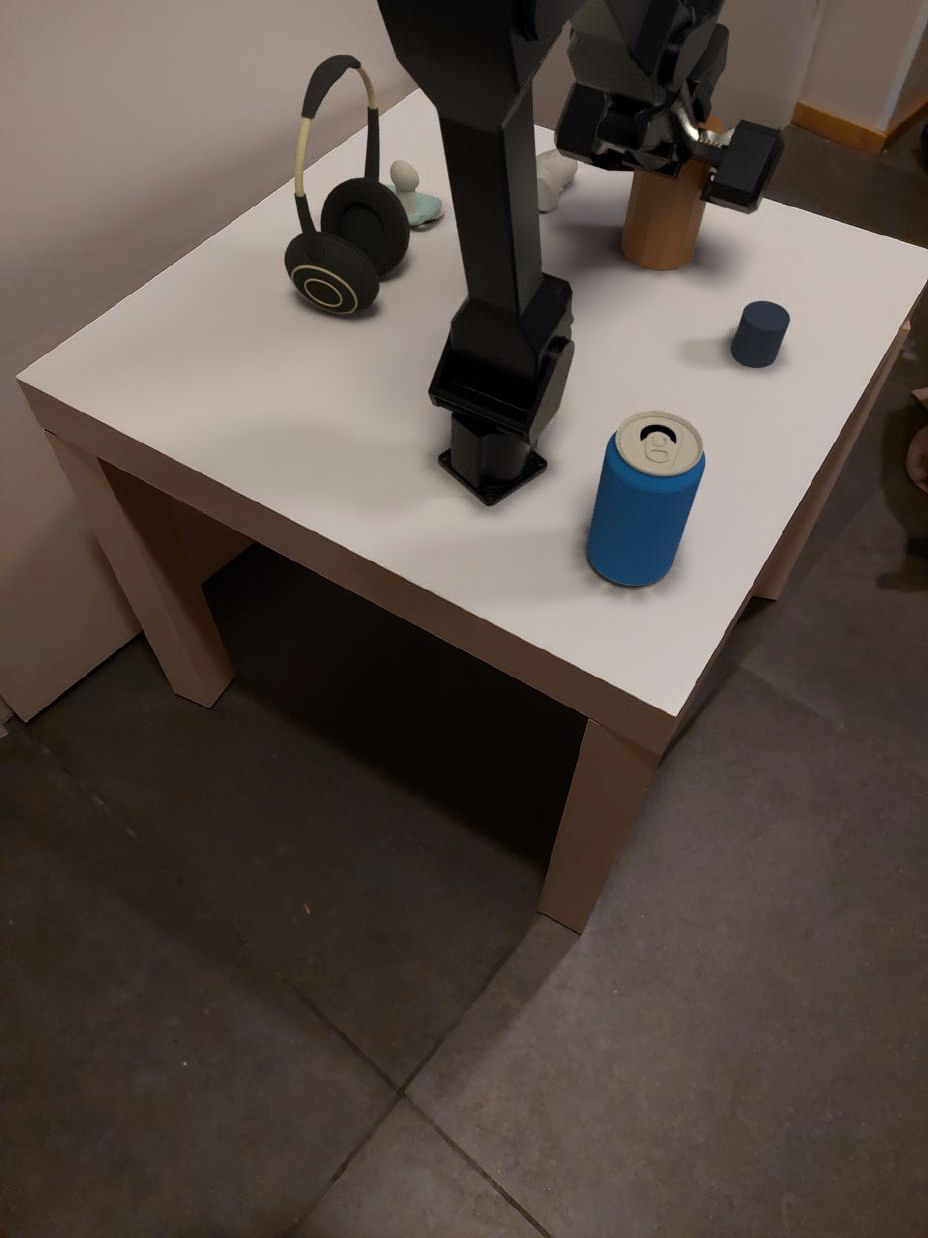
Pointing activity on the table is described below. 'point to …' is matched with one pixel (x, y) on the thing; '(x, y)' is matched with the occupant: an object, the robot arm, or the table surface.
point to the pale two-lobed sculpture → (552, 177)
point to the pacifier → (413, 194)
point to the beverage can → (644, 497)
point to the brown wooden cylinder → (666, 213)
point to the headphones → (345, 216)
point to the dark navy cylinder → (760, 333)
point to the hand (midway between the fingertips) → (677, 176)
